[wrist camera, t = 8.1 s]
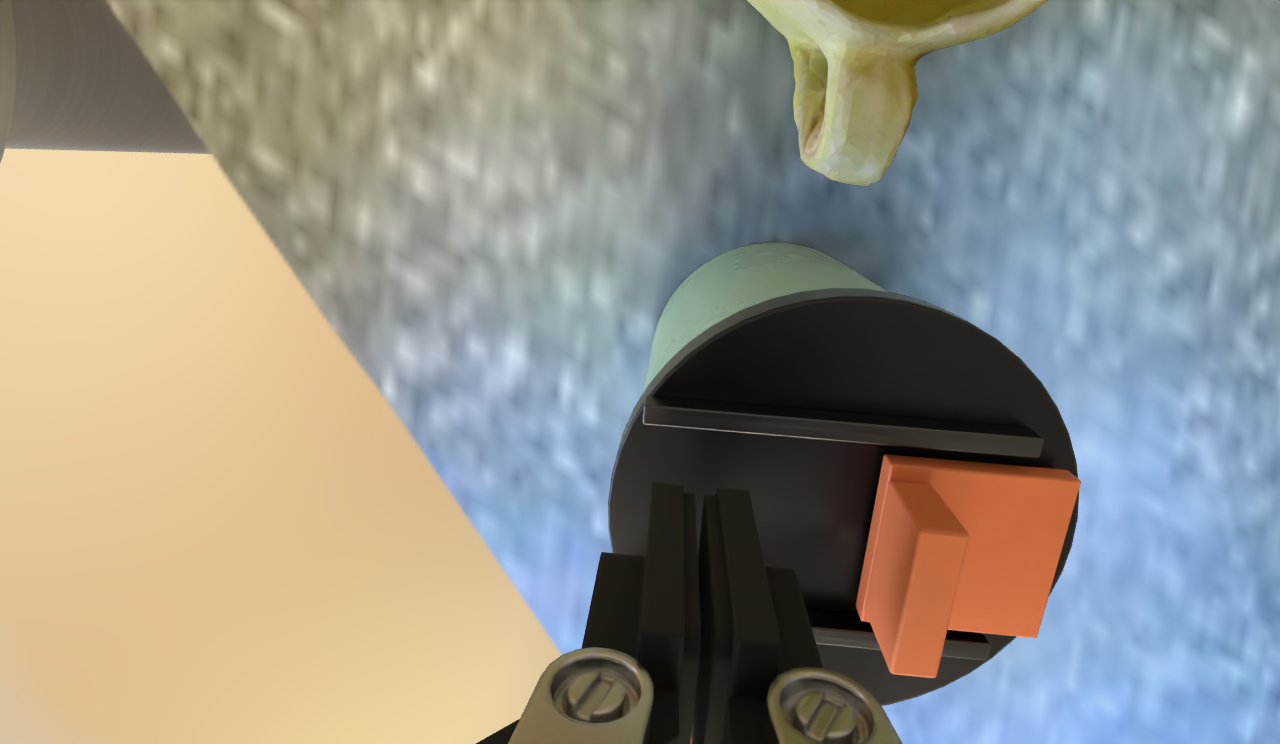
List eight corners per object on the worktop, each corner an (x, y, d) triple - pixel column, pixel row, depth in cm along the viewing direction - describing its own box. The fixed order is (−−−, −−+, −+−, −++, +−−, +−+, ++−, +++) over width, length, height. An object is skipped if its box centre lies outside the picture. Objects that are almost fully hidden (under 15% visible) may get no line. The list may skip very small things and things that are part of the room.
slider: (854, 606, 14) (887, 690, 12) (883, 453, 13) (923, 512, 11) (1025, 622, 14) (1090, 710, 11) (1067, 468, 13) (1147, 532, 10)
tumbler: (636, 463, 26) (593, 709, 14) (652, 224, 24) (617, 283, 12) (873, 483, 26) (1033, 756, 14) (917, 243, 23) (1163, 324, 11)
